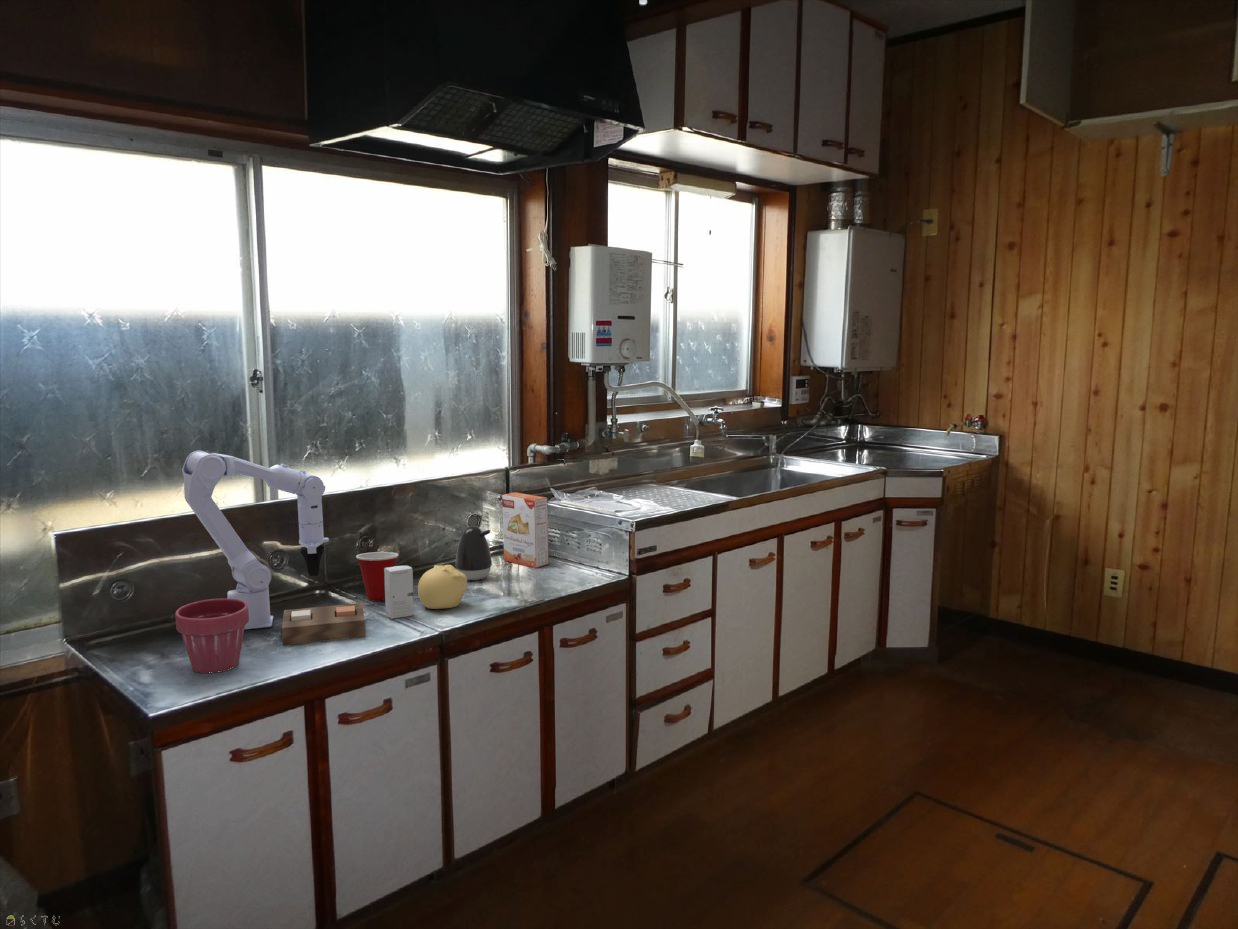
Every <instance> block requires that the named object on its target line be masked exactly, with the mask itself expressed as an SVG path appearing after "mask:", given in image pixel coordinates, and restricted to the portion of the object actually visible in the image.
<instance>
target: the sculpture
mask: <svg viewBox="0 0 1238 929" xmlns="http://www.w3.org/2000/svg"><path fill="white" fill-rule="evenodd" d="M467 583H468V580H467V577H466V575H465V574H463V573H461V572H460V571H459V570H457V568H456V567H454V566H453V565H451V564H445V565H442V564H441V565H436V564H434V566H433V568H431V569H428V570H426V571H425V572H424V573H423V574H422V576H421V577H420V578H419V581H418V584H417V595H418V597H419V600H420V603H422V605H423V606H424V607H425V608H427V609H432V610H433V609H434V610H440V609H451V608H456V607H457V606H458V605H459V604H460V603H461V601H462V599H463V597H464V595H465V592H467V588H468V584H467Z"/></svg>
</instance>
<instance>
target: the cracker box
mask: <svg viewBox="0 0 1238 929" xmlns="http://www.w3.org/2000/svg"><path fill="white" fill-rule="evenodd" d="M501 497H502V499H501V500H502V501H501V502H502V503H501V504H502V532H503V533H502V535H503V536H502V537H503V538H502V540H503V561H505V562H508V561H509V562H510V563H513V564H517V565H522V566H525V567H529V568H533V569H538V568H541V567H544V566H548V565H549V522H548V520H549V518H548V516H549V515H548V514H549V513H548V497H545V496H540V495H533V494H528V493H527V494H526V493H521V492H510V493H504V494H502V496H501Z"/></svg>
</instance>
